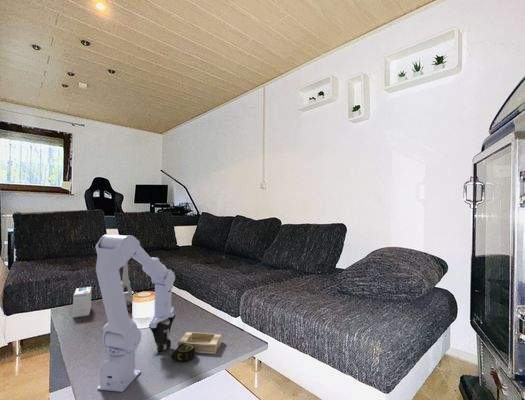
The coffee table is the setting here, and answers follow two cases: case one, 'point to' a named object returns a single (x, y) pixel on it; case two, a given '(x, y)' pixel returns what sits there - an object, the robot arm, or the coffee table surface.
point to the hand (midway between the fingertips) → (162, 339)
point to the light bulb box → (82, 302)
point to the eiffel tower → (126, 284)
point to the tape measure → (183, 352)
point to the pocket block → (202, 341)
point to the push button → (164, 337)
